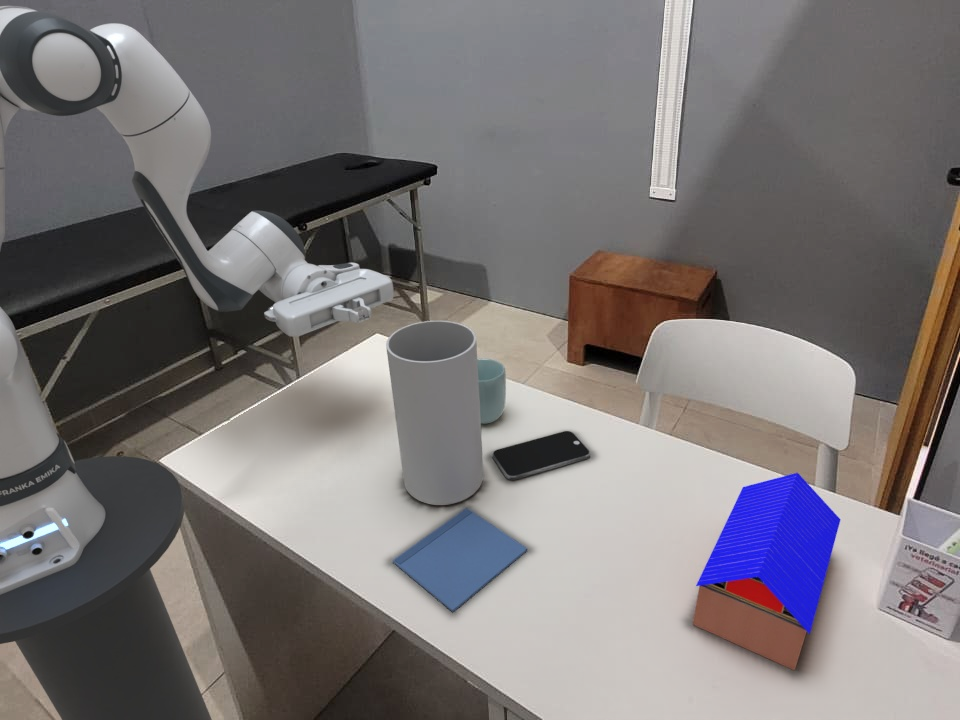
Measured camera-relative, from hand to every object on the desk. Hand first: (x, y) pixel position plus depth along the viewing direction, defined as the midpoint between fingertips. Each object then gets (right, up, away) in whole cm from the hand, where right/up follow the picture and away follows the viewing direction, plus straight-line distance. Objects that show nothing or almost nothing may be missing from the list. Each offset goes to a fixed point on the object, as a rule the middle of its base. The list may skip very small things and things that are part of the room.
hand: (364, 316), depth 100 cm
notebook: (+15, -34, -12) cm, 39 cm away
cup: (+19, -17, +17) cm, 31 cm away
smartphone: (+28, -23, +6) cm, 37 cm away
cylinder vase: (+12, -26, +2) cm, 29 cm away
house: (+53, -36, -19) cm, 67 cm away
